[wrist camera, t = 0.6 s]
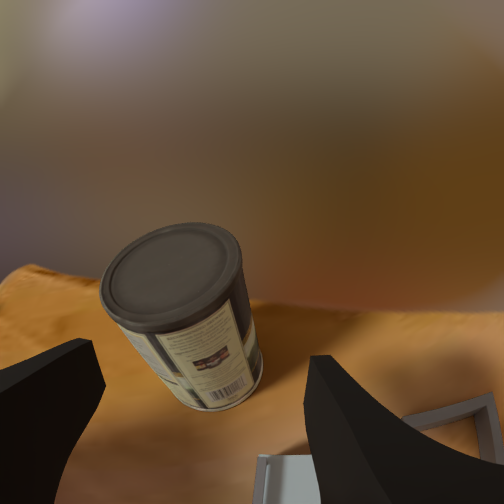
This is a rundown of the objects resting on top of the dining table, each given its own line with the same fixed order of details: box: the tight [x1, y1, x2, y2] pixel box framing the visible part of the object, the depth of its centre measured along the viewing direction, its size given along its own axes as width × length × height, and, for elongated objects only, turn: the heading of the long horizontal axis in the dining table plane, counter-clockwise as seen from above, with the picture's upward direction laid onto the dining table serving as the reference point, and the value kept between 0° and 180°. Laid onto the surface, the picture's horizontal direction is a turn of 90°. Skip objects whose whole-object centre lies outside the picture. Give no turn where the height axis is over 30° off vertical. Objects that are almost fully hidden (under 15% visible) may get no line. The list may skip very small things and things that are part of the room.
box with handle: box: [252, 454, 321, 504], centre depth 14 cm, size 7×6×5 cm
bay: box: [401, 392, 504, 465], centre depth 12 cm, size 12×10×2 cm
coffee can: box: [99, 222, 263, 412], centre depth 22 cm, size 10×10×14 cm
